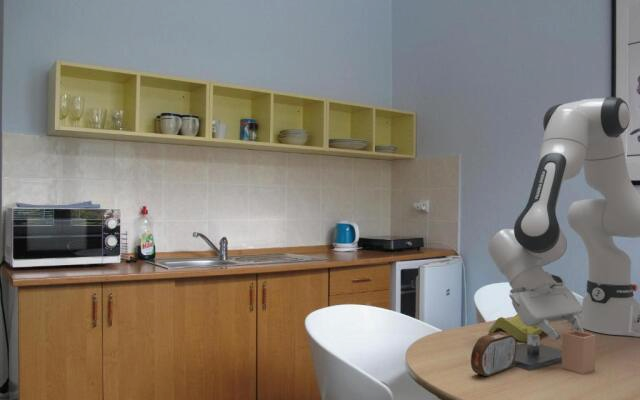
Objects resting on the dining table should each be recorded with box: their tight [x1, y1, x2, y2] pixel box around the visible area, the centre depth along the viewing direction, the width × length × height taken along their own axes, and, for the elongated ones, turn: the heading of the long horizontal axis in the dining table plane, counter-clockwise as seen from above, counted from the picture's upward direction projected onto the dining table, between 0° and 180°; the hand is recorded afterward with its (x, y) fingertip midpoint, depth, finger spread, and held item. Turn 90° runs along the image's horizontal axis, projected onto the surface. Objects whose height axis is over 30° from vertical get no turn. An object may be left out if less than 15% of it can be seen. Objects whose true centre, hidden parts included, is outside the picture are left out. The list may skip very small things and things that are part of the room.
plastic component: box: [488, 313, 552, 343], centre depth 157 cm, size 20×7×10 cm
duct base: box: [511, 334, 562, 371], centre depth 133 cm, size 18×12×5 cm, turn 124°
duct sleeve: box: [561, 330, 597, 375], centre depth 125 cm, size 5×5×8 cm
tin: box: [470, 331, 518, 377], centre depth 121 cm, size 15×3×8 cm, turn 131°
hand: (568, 335), depth 127 cm, fingers open, 8 cm apart
